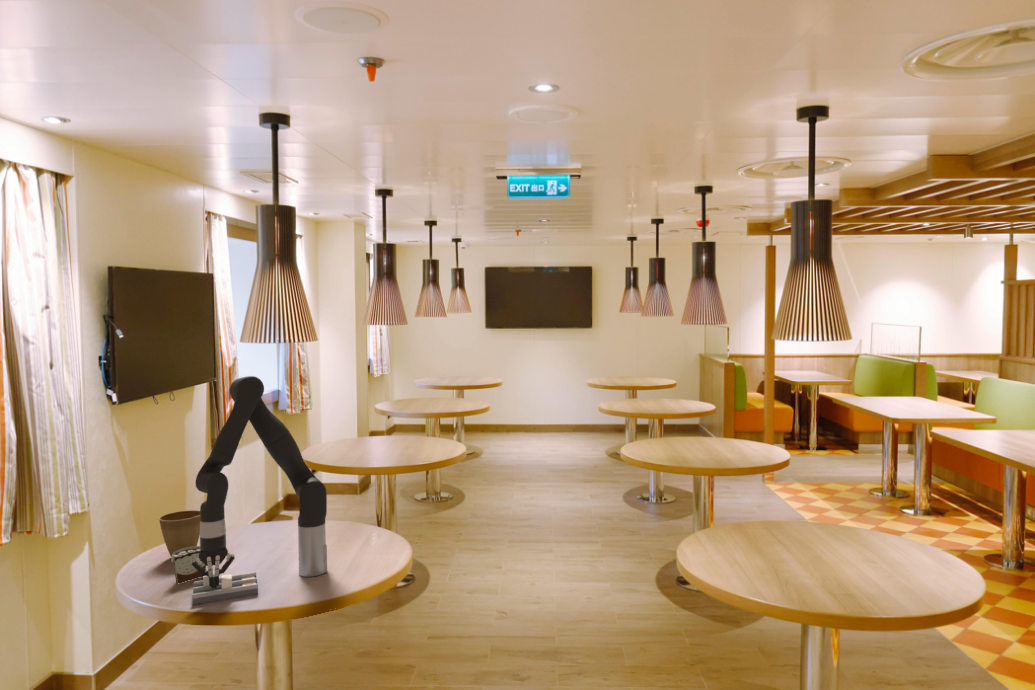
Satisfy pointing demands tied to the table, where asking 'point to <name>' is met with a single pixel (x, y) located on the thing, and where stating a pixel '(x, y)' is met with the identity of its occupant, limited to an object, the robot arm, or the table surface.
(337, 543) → the table surface
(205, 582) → the far tab
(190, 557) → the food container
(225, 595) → the switch panel
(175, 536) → the plant pot
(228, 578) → the near tab
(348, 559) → the table surface
